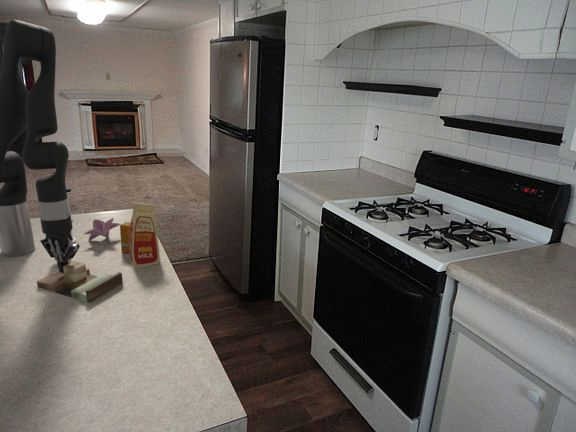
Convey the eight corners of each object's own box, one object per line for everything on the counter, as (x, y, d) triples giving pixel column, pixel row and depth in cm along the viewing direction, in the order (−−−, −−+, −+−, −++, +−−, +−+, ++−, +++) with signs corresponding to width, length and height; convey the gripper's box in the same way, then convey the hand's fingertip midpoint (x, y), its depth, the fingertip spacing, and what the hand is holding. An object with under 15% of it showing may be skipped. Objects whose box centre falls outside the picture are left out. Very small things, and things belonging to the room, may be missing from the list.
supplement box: (130, 253, 143) (128, 225, 140) (121, 252, 144) (118, 224, 141) (135, 249, 146) (133, 222, 143) (126, 248, 147) (124, 221, 144)
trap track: (37, 287, 120) (35, 276, 118) (72, 270, 130) (71, 260, 129) (90, 302, 113) (88, 291, 112) (122, 283, 123) (121, 272, 122)
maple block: (65, 279, 120) (63, 266, 119) (76, 273, 124) (74, 261, 123) (75, 282, 119) (73, 269, 118) (87, 276, 122) (85, 264, 121)
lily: (127, 239, 158) (117, 215, 158) (123, 238, 147) (111, 212, 147) (95, 252, 155) (84, 228, 155) (88, 252, 144) (76, 226, 144)
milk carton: (133, 268, 133) (128, 207, 127) (129, 257, 141) (123, 199, 135) (163, 263, 137) (159, 203, 131) (157, 252, 145) (153, 196, 139)
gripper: (25, 215, 116) (36, 272, 121) (61, 222, 111) (70, 282, 117) (50, 207, 123) (58, 262, 128) (84, 214, 118) (91, 271, 123)
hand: (64, 271), depth 122 cm, fingers closed
